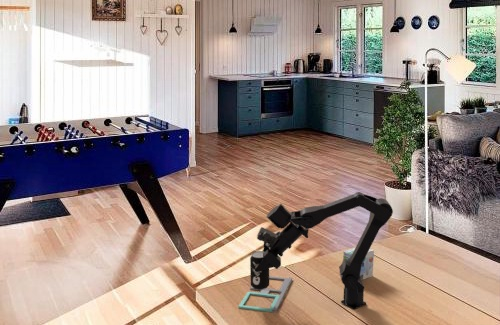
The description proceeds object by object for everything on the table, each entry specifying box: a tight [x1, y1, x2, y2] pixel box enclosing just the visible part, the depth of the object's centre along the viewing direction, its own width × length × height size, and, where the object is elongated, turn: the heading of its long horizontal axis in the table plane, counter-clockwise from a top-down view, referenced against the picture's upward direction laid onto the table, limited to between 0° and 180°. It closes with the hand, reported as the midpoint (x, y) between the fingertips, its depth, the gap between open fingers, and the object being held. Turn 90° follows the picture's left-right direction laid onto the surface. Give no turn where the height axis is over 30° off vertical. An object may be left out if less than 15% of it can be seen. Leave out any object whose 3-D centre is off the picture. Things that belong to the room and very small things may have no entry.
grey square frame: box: [249, 275, 289, 294], centre depth 209 cm, size 12×12×1 cm
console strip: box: [259, 277, 293, 313], centre depth 202 cm, size 27×9×1 cm, turn 164°
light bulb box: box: [342, 247, 375, 281], centre depth 215 cm, size 11×7×11 cm, turn 126°
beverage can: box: [249, 250, 270, 291], centre depth 193 cm, size 7×7×12 cm
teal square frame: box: [237, 291, 280, 313], centre depth 195 cm, size 12×12×1 cm
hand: (255, 266), depth 193 cm, fingers closed on beverage can, 7 cm apart
